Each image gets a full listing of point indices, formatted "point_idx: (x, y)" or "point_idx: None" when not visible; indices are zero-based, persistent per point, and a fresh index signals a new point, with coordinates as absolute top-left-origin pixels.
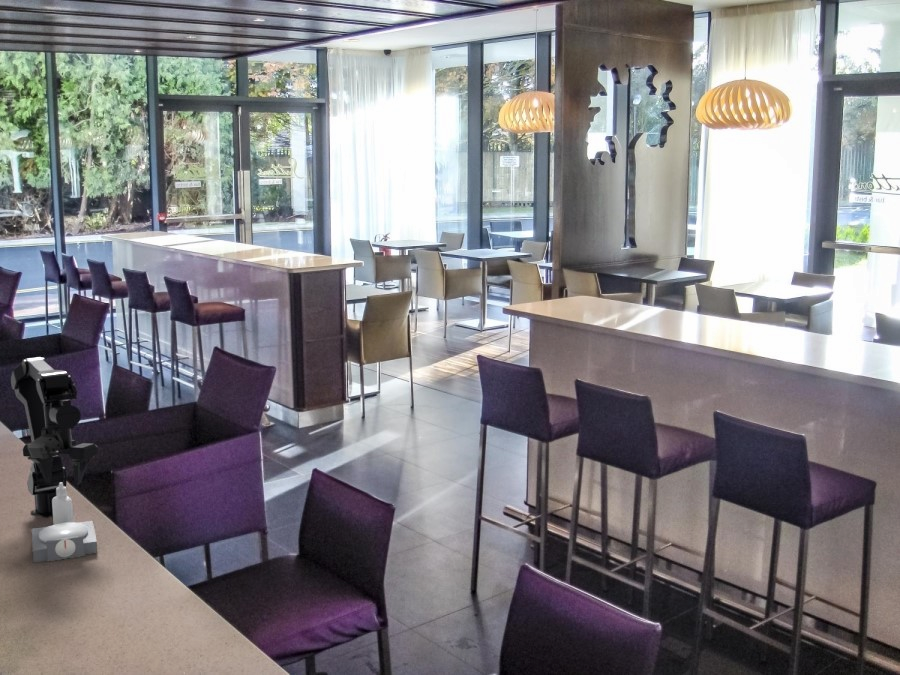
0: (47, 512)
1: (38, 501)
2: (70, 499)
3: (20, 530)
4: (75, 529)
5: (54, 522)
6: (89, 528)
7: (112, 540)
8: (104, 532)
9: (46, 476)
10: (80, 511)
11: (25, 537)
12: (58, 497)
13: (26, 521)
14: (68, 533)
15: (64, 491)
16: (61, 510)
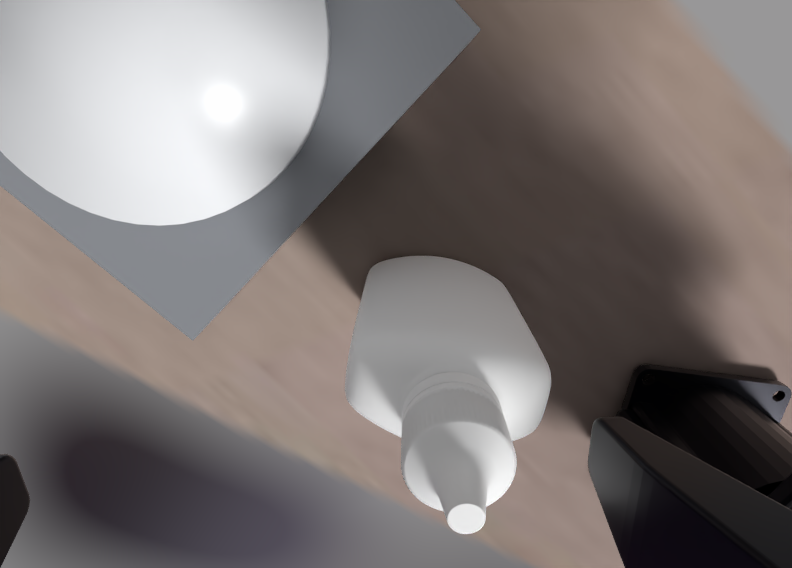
0: (663, 403)
1: (768, 433)
2: (357, 407)
3: (669, 148)
4: (73, 102)
5: (484, 278)
6: (90, 222)
7: (18, 254)
8: (158, 327)
9: (656, 489)
10: (513, 500)
11: (553, 64)
12: (451, 369)
13: (727, 280)
14: (47, 4)
15: (403, 438)
16: (400, 301)
